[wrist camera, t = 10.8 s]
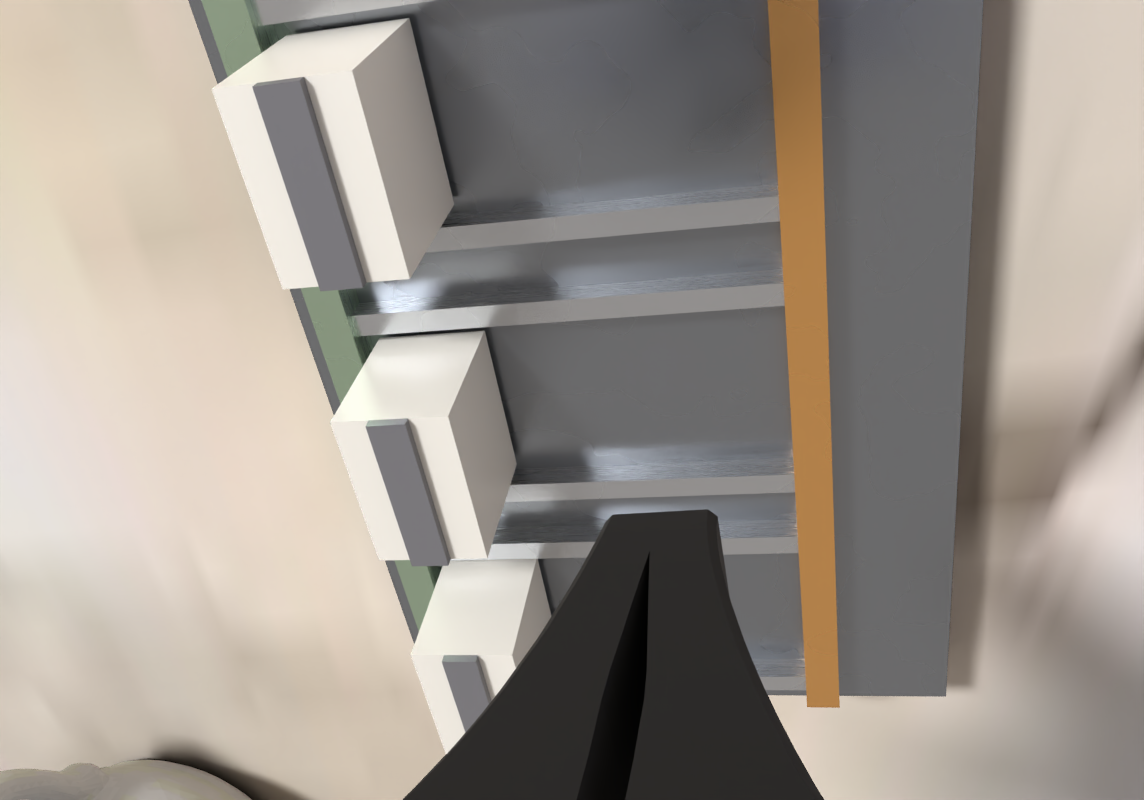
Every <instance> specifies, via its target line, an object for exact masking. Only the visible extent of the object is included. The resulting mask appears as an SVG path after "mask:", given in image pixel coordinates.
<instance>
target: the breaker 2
mask: <svg viewBox="0 0 1144 800" xmlns="http://www.w3.org/2000/svg"><path fill="white" fill-rule="evenodd" d="M330 424H331V427H332V430H333V432H334V435H335V438H336V441H337V444H338V446H339V449H340V452H341V455H342V458H343V461H344V463H345V466H346V469H347V472H348V475H349V477H350V480H351V483H352V486H353V489H354V491H355V494H356V497H357V500H358V503H359V506H360V508H361V511H362V514H363V517H364V520H365V522H366V525H367V528H368V531H369V534H370V536H371V539H372V542H373V545H374V548H375V551H376V553H377V556H378V559H379V561H385V560H410V562H411V565H412V566H448V565H449V563H450V560H451V559H478V558H488V555H489V552H490V548H491V545H492V542H493V539H494V536H495V532H496V529H497V526H498V523H499V520H500V516H501V513H502V510H503V507H504V503H505V500H506V497H507V494H508V491H509V487H510V484H511V481H512V478H513V475H514V471H515V468H516V465H517V463H516V459H515V455H514V450H513V446H512V442H511V438H510V434H509V430H508V425H507V421H506V417H505V413H504V409H503V405H502V401H501V396H500V392H499V388H498V384H497V380H496V376H495V371H494V367H493V363H492V359H491V355H490V351H489V347H488V342H487V338H486V334H485V331H471V332H457V333H443V334H429V335H414V336H400V337H386V338H379V340H378V342H377V343H376V345H375V347H374V348H373V350H372V352H371V353H370V355H369V357H368V359H367V360H366V362H365V364H364V365H363V367H362V369H361V370H360V372H359V374H358V376H357V377H356V379H355V381H354V382H353V384H352V386H351V387H350V389H349V391H348V393H347V394H346V396H345V398H344V399H343V401H342V403H341V404H340V406H339V408H338V410H337V411H336V413H335V415H334V416H333V418H332V420H331V421H330Z"/></svg>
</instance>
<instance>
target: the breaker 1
mask: <svg viewBox="0 0 1144 800" xmlns="http://www.w3.org/2000/svg"><path fill="white" fill-rule="evenodd" d="M212 92H213V95H214V98H215V100H216V103H217V106H218V109H219V112H220V115H221V117H222V120H223V123H224V126H225V129H226V131H227V134H228V137H229V140H230V143H231V145H232V148H233V151H234V154H235V157H236V160H237V162H238V165H239V168H240V171H241V174H242V176H243V179H244V182H245V185H246V188H247V190H248V193H249V196H250V199H251V202H252V205H253V207H254V210H255V213H256V216H257V219H258V221H259V224H260V227H261V230H262V233H263V235H264V238H265V241H266V244H267V247H268V250H269V252H270V255H271V258H272V261H273V264H274V266H275V269H276V272H277V275H278V278H279V280H280V283H281V286H282V289H295V288H307V287H319V289H320V291H332V290H344V289H356V288H363V287H364V286H365V284H366V283H367V282H379V281H391V280H403V279H410V278H411V276H412V274H413V273H414V271H415V269H416V268H417V266H418V264H419V263H420V261H421V259H422V258H423V256H424V254H425V253H426V251H427V249H428V248H429V246H430V244H431V243H432V241H433V239H434V238H435V236H436V234H437V233H438V231H439V229H440V228H441V226H442V224H443V222H444V221H445V219H446V217H447V216H448V214H449V212H450V211H451V209H452V207H453V206H454V201H453V197H452V193H451V189H450V185H449V180H448V176H447V172H446V168H445V164H444V160H443V155H442V151H441V147H440V143H439V139H438V135H437V131H436V126H435V122H434V118H433V114H432V110H431V106H430V101H429V97H428V93H427V89H426V85H425V81H424V77H423V72H422V68H421V64H420V60H419V56H418V52H417V47H416V43H415V39H414V35H413V31H412V27H411V23H410V18H404V19H397V20H390V21H383V22H376V23H369V24H362V25H355V26H348V27H341V28H333V29H326V30H319V31H312V32H305V33H298V34H291V35H286V36H285V37H283V38H282V39H281V40H279V41H278V42H276V43H275V44H274V45H272V46H271V47H269V48H268V49H267V50H265V51H264V52H262V53H261V54H260V55H258V56H257V57H255V58H254V59H253V60H251V61H250V62H248V63H247V64H246V65H244V66H243V67H241V68H240V69H239V70H237V71H236V72H234V73H233V74H232V75H230V76H229V77H227V78H226V79H224V80H223V81H222V82H220V83H219V84H217V85H216V86H215V87H213V88H212Z"/></svg>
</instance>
